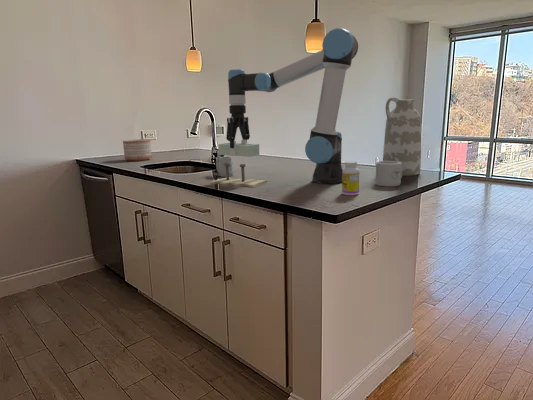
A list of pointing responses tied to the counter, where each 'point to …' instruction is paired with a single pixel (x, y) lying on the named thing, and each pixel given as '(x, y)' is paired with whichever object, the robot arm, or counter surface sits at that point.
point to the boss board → (238, 181)
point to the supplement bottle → (350, 178)
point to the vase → (403, 136)
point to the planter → (137, 149)
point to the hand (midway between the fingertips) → (239, 154)
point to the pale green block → (239, 149)
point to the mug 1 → (221, 167)
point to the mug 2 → (388, 173)
